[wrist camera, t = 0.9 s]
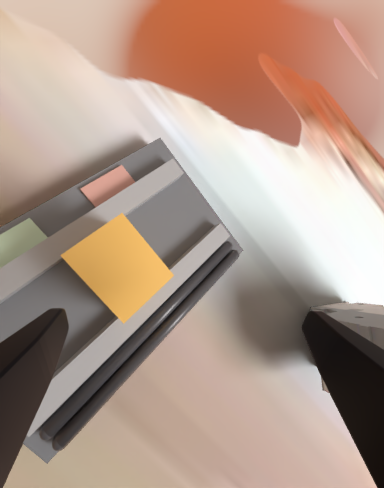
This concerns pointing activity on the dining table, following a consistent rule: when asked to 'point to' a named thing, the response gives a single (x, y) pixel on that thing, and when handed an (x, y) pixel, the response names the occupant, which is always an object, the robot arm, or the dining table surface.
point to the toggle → (119, 267)
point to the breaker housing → (85, 299)
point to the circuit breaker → (358, 320)
